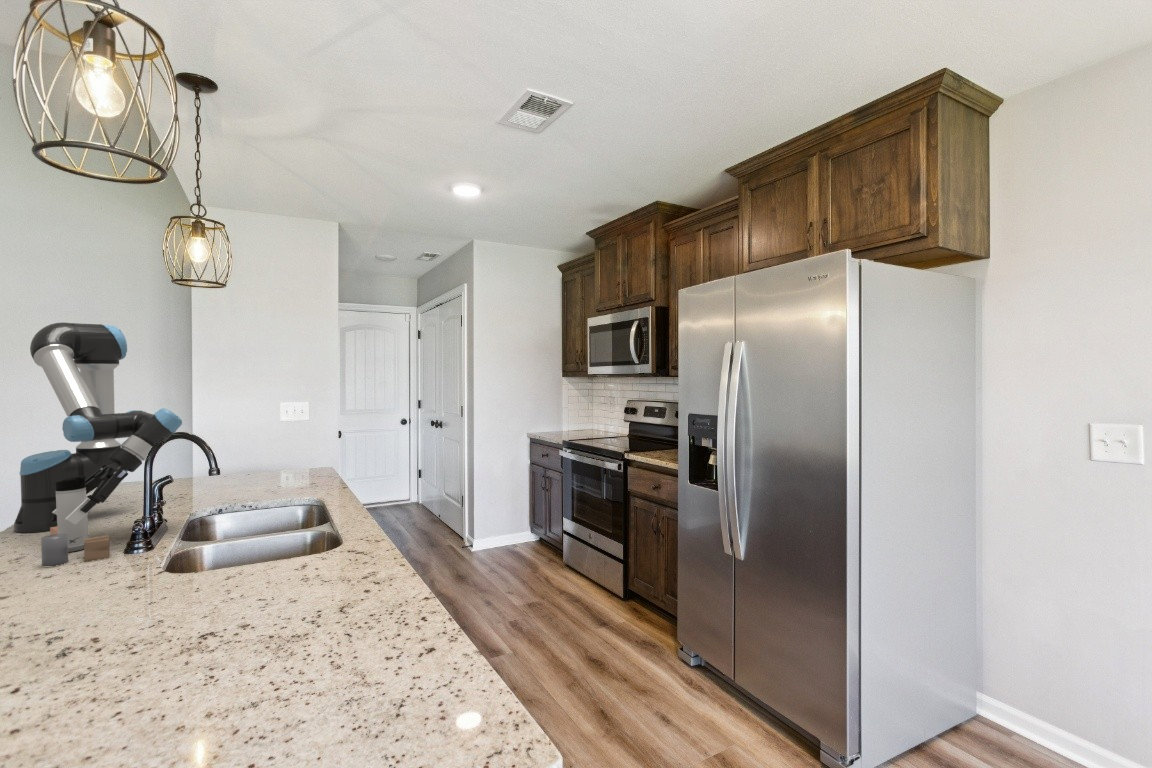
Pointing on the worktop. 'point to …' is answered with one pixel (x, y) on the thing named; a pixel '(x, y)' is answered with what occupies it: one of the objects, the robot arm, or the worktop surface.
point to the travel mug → (67, 501)
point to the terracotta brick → (53, 530)
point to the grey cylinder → (54, 549)
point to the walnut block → (96, 548)
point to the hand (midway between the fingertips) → (63, 518)
